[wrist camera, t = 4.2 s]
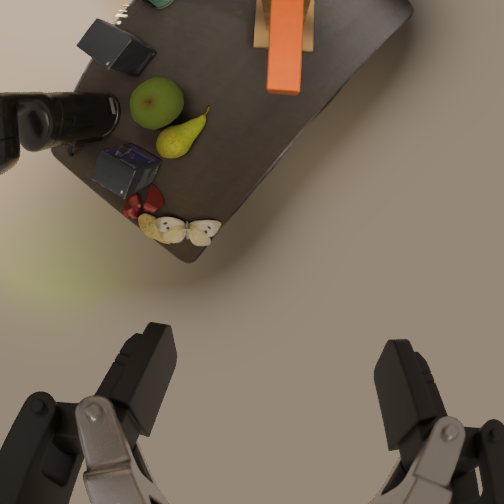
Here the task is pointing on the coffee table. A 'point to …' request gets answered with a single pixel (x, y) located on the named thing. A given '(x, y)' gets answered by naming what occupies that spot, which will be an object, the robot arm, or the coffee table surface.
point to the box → (125, 169)
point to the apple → (156, 103)
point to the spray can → (158, 3)
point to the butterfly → (187, 230)
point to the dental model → (149, 205)
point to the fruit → (179, 137)
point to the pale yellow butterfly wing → (150, 227)
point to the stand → (264, 25)
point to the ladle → (285, 47)
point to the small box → (115, 48)
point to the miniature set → (122, 14)
